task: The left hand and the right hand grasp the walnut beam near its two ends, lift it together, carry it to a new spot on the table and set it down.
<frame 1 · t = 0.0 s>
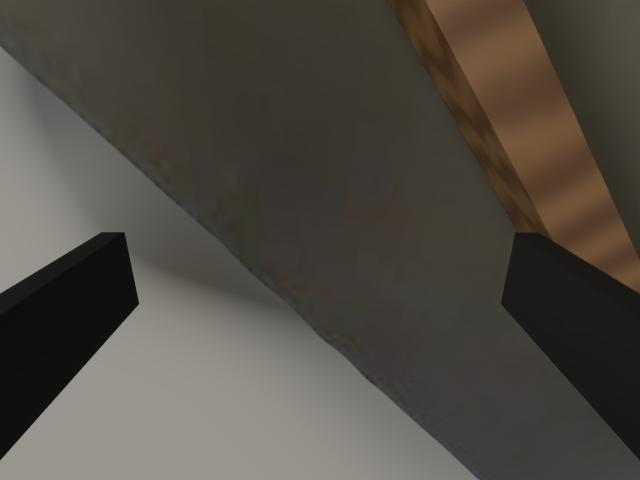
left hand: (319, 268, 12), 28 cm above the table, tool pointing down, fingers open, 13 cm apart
beam: (527, 192, 40), on the table
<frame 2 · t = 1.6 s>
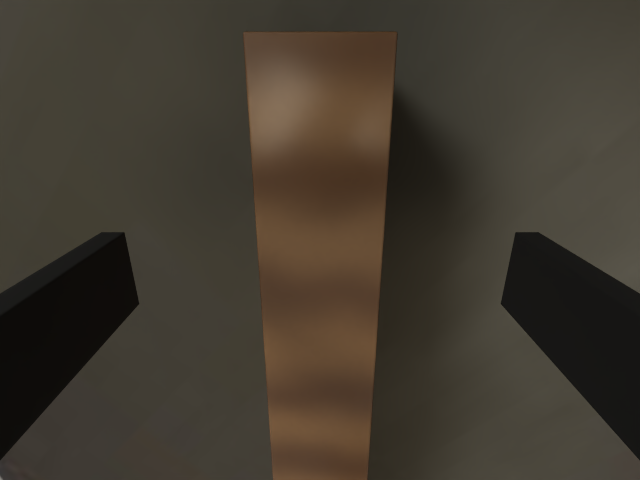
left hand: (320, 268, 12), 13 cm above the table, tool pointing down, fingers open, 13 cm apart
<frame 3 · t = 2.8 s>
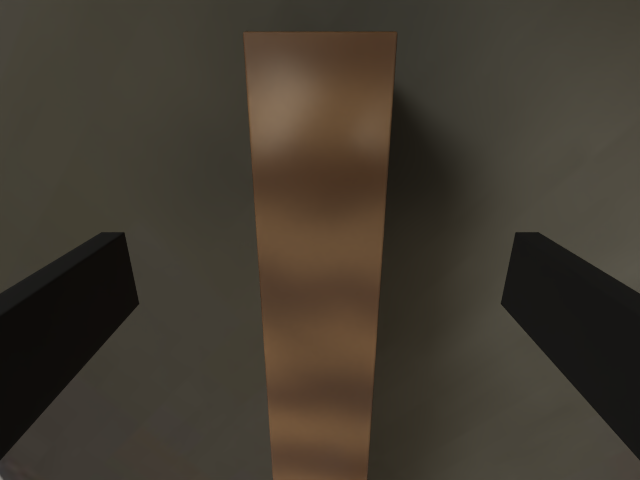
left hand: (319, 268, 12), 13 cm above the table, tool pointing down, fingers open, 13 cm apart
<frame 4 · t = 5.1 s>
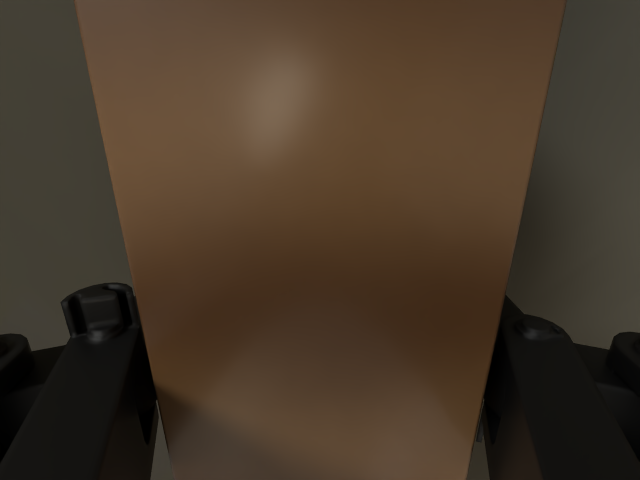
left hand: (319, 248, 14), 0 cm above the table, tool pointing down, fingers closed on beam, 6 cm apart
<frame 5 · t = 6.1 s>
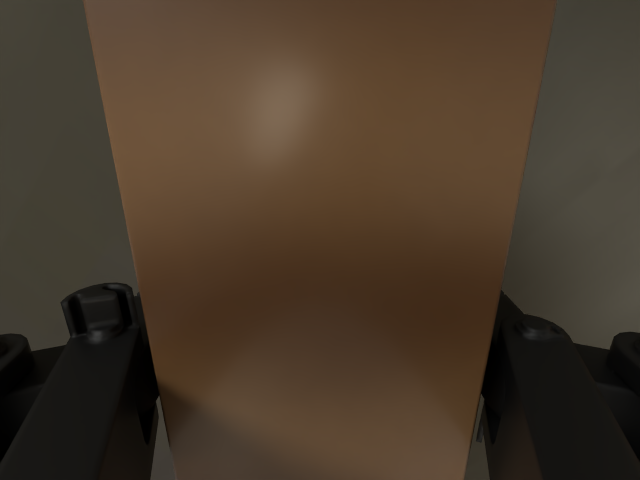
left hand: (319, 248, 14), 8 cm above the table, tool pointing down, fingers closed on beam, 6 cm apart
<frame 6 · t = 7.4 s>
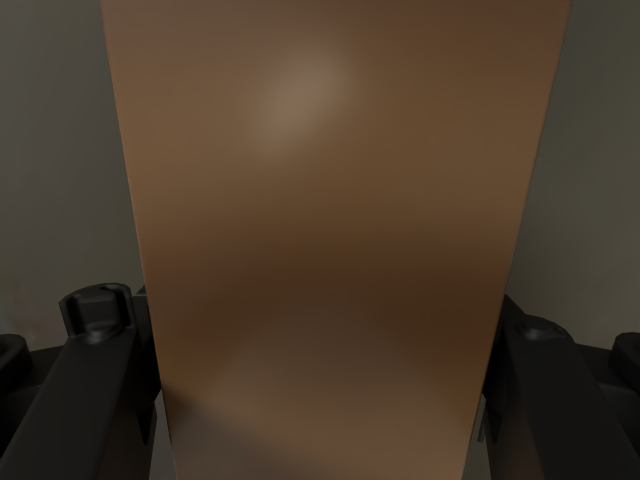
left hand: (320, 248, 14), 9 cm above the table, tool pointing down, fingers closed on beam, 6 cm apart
when the left hand's fingers open (1 cm above the table, at t = 9.6 s): beam stays where it is, on the table.
when the right hand's fingers open (1 cm above the table, at t = 9.6 s): beam stays where it is, on the table.
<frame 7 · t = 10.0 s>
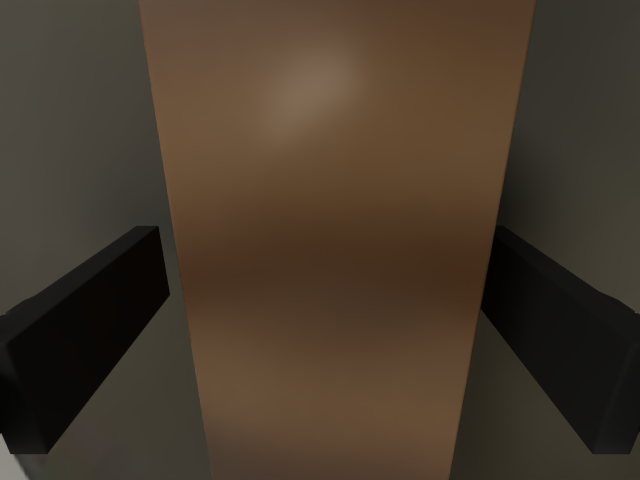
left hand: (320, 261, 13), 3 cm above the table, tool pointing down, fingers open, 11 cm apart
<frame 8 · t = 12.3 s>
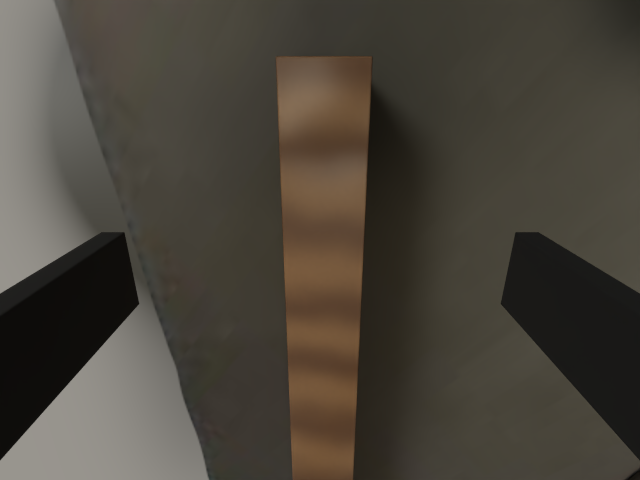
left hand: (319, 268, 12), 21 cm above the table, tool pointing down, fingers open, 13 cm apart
beam: (322, 439, 44), on the table
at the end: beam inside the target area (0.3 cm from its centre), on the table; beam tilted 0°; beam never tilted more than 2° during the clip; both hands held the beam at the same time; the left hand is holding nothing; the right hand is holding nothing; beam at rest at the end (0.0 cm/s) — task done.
